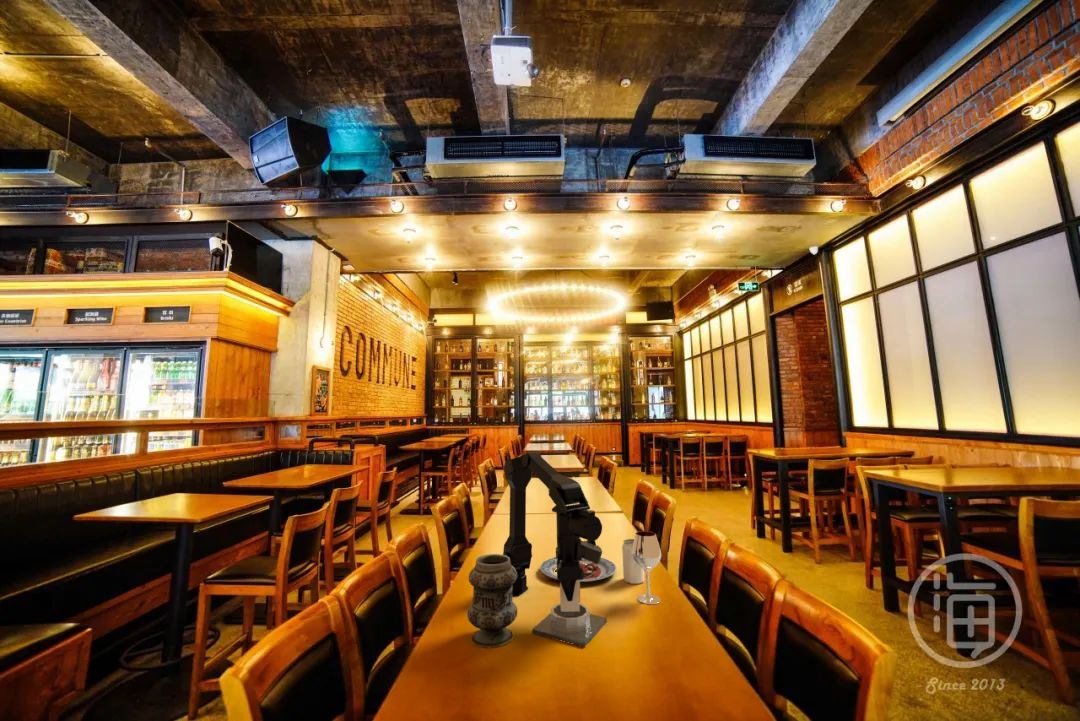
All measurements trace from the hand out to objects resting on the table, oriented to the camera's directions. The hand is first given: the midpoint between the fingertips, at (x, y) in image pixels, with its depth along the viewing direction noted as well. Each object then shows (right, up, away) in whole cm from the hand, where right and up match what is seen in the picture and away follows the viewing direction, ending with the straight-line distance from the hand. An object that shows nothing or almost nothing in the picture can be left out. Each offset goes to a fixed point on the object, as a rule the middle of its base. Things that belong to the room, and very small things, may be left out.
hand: (569, 596), depth 108 cm
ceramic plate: (+6, -13, +37) cm, 39 cm away
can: (+23, -11, +29) cm, 38 cm away
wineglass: (+24, -9, +14) cm, 29 cm away
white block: (0, -3, 0) cm, 2 cm away
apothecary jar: (-19, -7, -5) cm, 21 cm away
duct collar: (0, -7, -1) cm, 7 cm away
